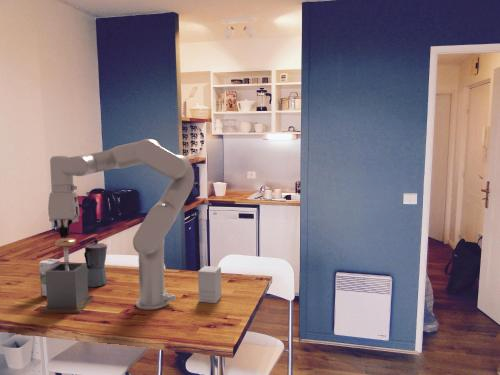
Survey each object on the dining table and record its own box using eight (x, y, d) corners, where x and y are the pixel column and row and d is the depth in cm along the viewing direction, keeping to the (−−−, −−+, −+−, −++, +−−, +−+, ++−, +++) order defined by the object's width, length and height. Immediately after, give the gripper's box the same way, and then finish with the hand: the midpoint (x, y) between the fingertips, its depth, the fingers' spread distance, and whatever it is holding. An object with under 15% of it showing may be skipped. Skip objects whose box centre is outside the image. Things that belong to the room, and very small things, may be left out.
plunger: (81, 273, 165) (79, 238, 164) (73, 279, 158) (71, 243, 156) (61, 272, 165) (60, 238, 164) (52, 279, 158) (50, 243, 156)
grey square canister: (93, 298, 170) (92, 261, 168) (79, 312, 156) (77, 273, 154) (59, 298, 170) (57, 261, 168) (41, 312, 156) (39, 272, 154)
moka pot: (114, 279, 193) (112, 236, 190) (98, 291, 178) (96, 245, 175) (94, 278, 194) (92, 236, 191) (77, 290, 179) (74, 244, 176)
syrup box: (62, 292, 176) (60, 259, 174) (52, 297, 170) (50, 263, 169) (51, 291, 178) (49, 257, 176) (40, 296, 172) (38, 261, 170)
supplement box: (221, 296, 172) (221, 266, 170) (215, 303, 165) (215, 272, 163) (204, 295, 174) (204, 265, 172) (198, 301, 166) (197, 270, 165)
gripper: (86, 187, 161) (88, 234, 163) (47, 187, 161) (49, 234, 164) (78, 190, 154) (80, 239, 156) (37, 190, 154) (40, 239, 156)
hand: (64, 236), depth 160 cm, fingers closed
